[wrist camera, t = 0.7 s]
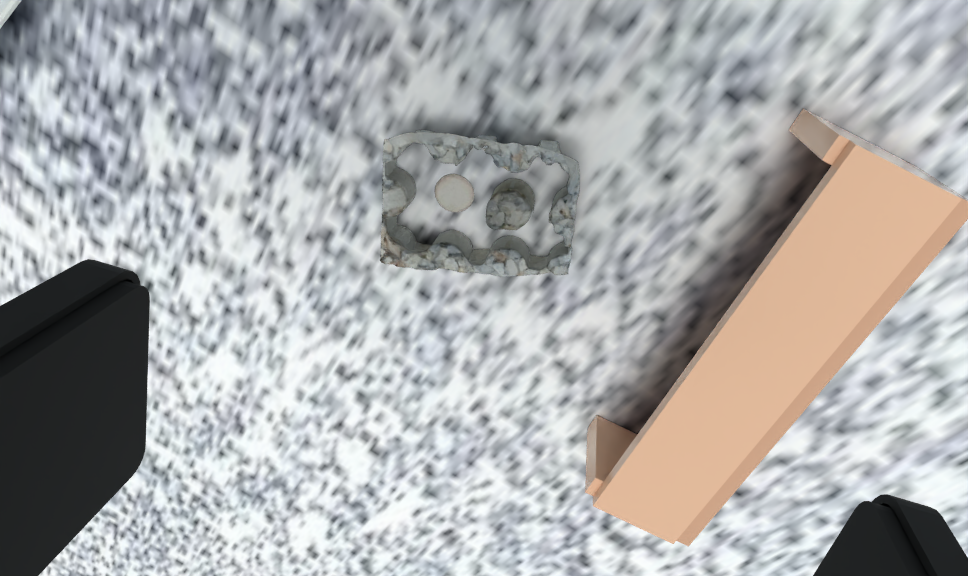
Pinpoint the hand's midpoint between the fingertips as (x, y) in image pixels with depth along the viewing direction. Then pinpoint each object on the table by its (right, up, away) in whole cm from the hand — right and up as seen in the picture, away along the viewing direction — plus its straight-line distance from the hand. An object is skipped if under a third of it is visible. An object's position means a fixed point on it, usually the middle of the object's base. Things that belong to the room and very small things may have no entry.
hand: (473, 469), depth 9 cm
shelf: (+14, +1, +31) cm, 34 cm away
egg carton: (0, +8, +30) cm, 31 cm away
